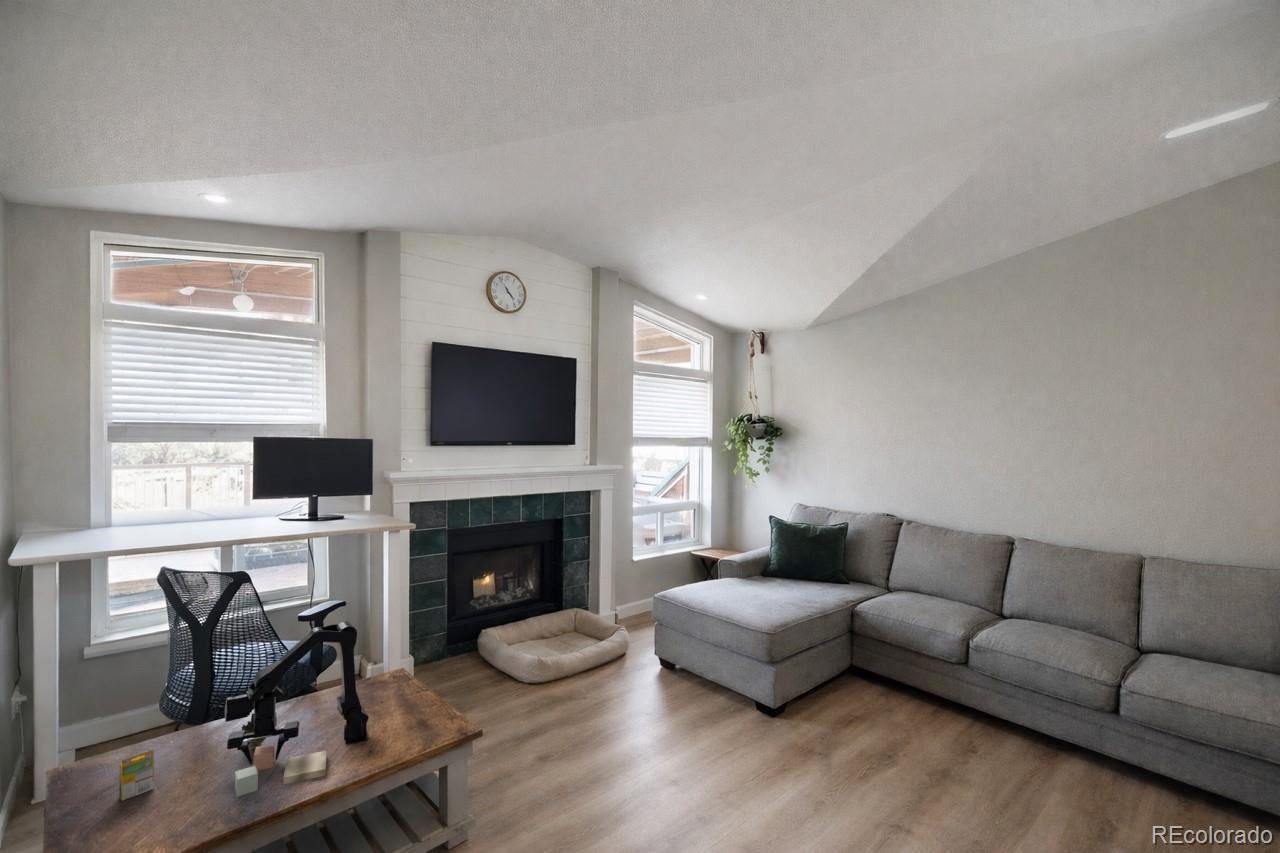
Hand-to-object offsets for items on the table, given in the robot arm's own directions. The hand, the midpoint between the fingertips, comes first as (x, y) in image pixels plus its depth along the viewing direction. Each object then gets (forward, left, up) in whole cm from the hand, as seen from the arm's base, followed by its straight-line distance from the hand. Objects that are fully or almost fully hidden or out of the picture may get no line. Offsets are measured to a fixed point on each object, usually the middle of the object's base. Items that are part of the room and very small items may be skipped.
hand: (264, 761), depth 187 cm
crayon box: (+31, +2, -1) cm, 31 cm away
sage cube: (+3, +12, -1) cm, 12 cm away
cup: (+4, -12, -1) cm, 13 cm away
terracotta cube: (0, 0, -1) cm, 1 cm away
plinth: (-12, +8, -2) cm, 15 cm away
